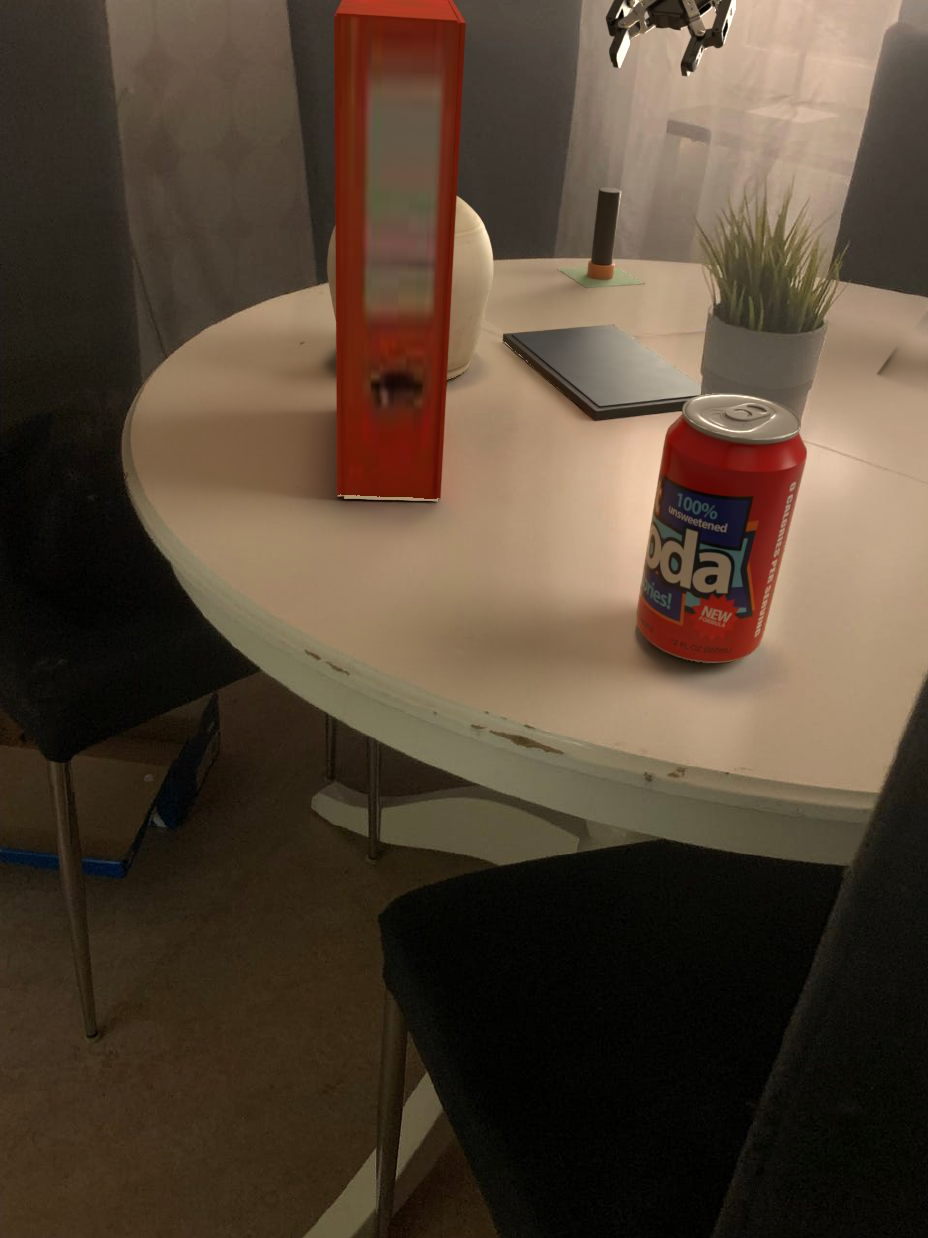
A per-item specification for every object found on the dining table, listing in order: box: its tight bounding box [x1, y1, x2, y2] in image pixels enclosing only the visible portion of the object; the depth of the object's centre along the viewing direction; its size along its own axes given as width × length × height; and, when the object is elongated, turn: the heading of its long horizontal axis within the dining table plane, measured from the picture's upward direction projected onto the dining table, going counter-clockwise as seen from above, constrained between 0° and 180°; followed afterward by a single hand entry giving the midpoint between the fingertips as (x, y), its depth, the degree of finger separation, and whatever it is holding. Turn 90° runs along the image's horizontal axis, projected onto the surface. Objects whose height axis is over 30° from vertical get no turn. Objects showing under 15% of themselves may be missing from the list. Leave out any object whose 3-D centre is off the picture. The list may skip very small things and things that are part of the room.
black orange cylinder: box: [587, 187, 622, 280], centre depth 129 cm, size 3×3×10 cm
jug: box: [326, 195, 494, 379], centre depth 99 cm, size 15×16×25 cm
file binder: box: [333, 0, 467, 499], centre depth 79 cm, size 8×17×32 cm, turn 3°
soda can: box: [636, 392, 808, 664], centre depth 64 cm, size 8×8×15 cm
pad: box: [557, 265, 646, 289], centre depth 132 cm, size 8×8×1 cm
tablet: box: [502, 324, 702, 421], centre depth 106 cm, size 13×21×1 cm, turn 21°
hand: (649, 66), depth 125 cm, fingers open, 8 cm apart
